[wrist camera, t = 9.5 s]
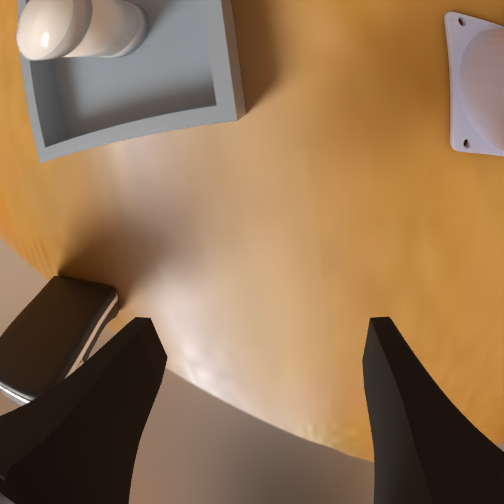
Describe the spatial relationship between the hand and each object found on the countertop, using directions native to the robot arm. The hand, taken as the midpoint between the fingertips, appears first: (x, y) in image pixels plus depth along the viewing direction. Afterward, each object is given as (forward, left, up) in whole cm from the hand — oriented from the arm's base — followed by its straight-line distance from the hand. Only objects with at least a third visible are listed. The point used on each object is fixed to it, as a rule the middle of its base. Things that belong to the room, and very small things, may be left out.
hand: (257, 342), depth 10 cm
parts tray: (+7, -12, -9) cm, 17 cm away
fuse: (+7, -12, -9) cm, 17 cm away
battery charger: (+16, +6, -10) cm, 20 cm away
